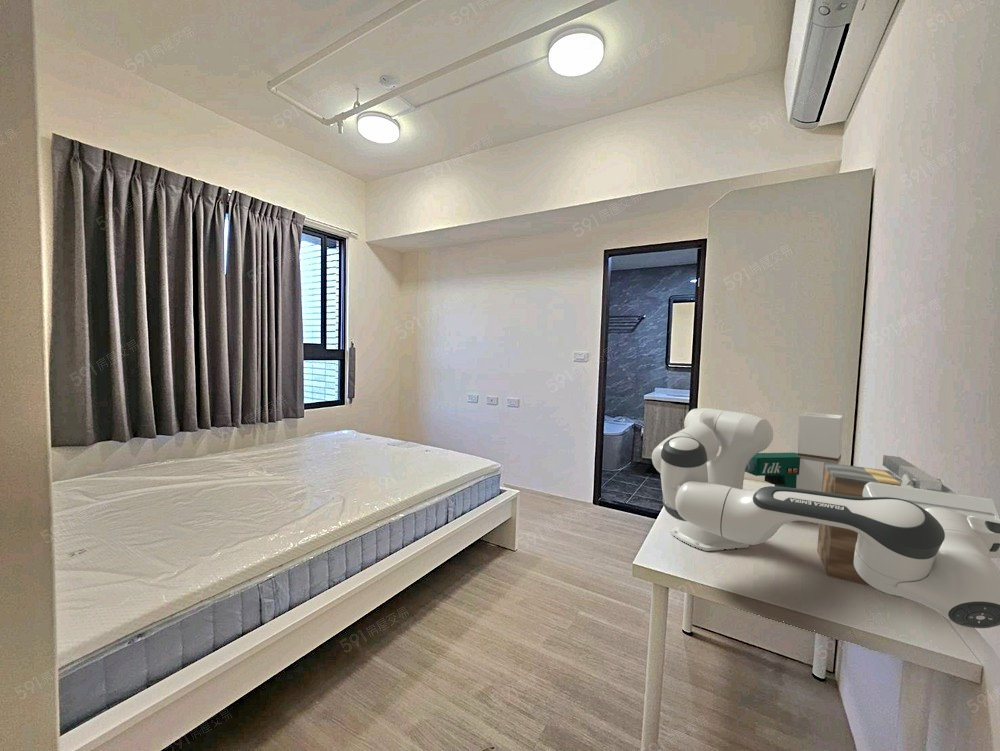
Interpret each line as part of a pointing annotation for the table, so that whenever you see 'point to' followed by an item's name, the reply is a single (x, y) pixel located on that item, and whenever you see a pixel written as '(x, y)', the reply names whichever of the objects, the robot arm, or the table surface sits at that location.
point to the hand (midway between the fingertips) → (922, 478)
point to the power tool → (775, 468)
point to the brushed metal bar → (911, 473)
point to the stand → (841, 542)
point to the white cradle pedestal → (817, 447)
